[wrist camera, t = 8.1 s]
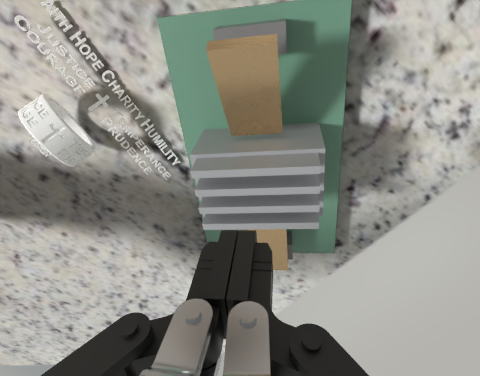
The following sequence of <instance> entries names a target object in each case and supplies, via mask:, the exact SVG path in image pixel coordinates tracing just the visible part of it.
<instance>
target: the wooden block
mask: <svg viewBox="0 0 480 376" xmlns="http://www.w3.org/2000/svg"><path fill="white" fill-rule="evenodd" d="M206 52H207V55H208V58H209V62H210V65H211V69H212V72H213V75H214V79H215V82H216V86H217V89H218V92H219V96H220V99H221V102H222V106H223V109H224V113H225V116H226V119H227V123H228V126H229V129H230V133H231V136H243V135H261V134H278V133H283V132H282V110H281V91H280V73H279V55H278V37H277V34H269V35H260V36H251V37H242V38H232V39H223V40H214V41H207V49H206Z"/></svg>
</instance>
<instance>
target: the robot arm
mask: <svg viewBox="0 0 480 376" xmlns="http://www.w3.org/2000/svg"><path fill="white" fill-rule="evenodd" d="M272 292H273V256H272V250H271V248H270V246H269V244H268V243H257V233H256V230H221V233H220V237H219V240H218V242H208V244H207V245H206V246H205V247H204V248H203V249H202V251H201V255H200V258H199V261H198V264H197V269H196V271H195V274H194V277H193V280H192V284H191V287H190V290H189V293H188V296H187V299H186V301H185V302H183V303H182V304H181V305H180V306H179V307H178V308H177V309H176V311H175V313H173V314H171V315H169V316H166V317H162V318H158V319H154V320H149V318H148V317H147V316H146V315H144V314H142V313H130V314H127V315H125V316H123V317H121V318H120V319H119V320H117V321H116V322H114V323H113V324H112V325H110V326H109V327H107V328H106V329H105V330H103V331H102V332H101V333H99V334H98V335H96V336H95V337H94V338H92V339H91V340H89V341H88V342H87V343H85V344H84V345H83V346H81V347H80V348H78V349H77V350H76V351H74V352H73V353H71V354H70V355H69V356H67V357H66V358H65V359H63V360H62V361H60V362H59V363H58V364H56V365H55V366H53V367H52V368H51V369H49V370H48V371H47V372H45V373H44V374H42V375H41V376H217V374H218V370H219V366H220V362H221V350H222V344H223V339H226V347H225V359H224V371H223V376H369V375H368V374H367V373H366V372H365V371H364V370H363V369H362V368H361V367H360V366H359V365H358V364H357V362H356V361H355V360H354V359H353V358H352V357H351V356H350V355H349V354H348V353H347V352H346V351H345V350H344V349H343V348H342V347H341V346H340V345H339V344H338V343H337V341H336V340H335V339H334V338H333V337H332V336H331V335H330V334H329V333H328V332H327V331H326V330H325V329H323V328H322V327H320V326H318V325H315V324H303V325H300V326H298V327H293V326H291V325H288V324H286V323H283V322H282V321H280V320H279V319H278V318H277V317H276V316H275V315H274V314H273V312H272Z"/></svg>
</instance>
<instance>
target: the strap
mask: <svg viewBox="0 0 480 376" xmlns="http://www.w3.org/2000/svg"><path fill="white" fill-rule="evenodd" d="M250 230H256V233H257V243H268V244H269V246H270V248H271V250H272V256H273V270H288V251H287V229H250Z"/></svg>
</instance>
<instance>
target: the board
mask: <svg viewBox="0 0 480 376" xmlns="http://www.w3.org/2000/svg"><path fill="white" fill-rule="evenodd" d="M351 5H352V0H294V1H286V2H278V3H270V4H262V5H254V6H246V7H238V8H230V9H222V10H214V11H206V12H197V13H189V14H181V15H173V16H165V17H160V18H157V20H158V24H159V29H160V33H161V38H162V42H163V47H164V51H165V56H166V60H167V65H168V69H169V74H170V78H171V83H172V87H173V92H174V96H175V101H176V105H177V109H178V114H179V118H180V123H181V127H182V132H183V136H184V141H185V145H186V150H187V154H188V159H189V163H190V168H191V171H190V173H191V177H192V179H193V181H194V186H195V190H194V191H195V195H196V197H197V199H198V204H199V207H198V208H199V213H200V214H201V217H202V221H203V223H202V226H203V230H205V235H206V239H207V244H208V242H218V240H219V237H220V233H221V230H250V229H287V251H288V259H293V253H334V251H335V236H336V222H337V207H338V193H339V178H340V164H341V150H342V135H343V121H344V106H345V92H346V77H347V63H348V48H349V34H350V19H351ZM269 34H277V37H278V55H279V73H280V91H281V110H282V132H283V133H278V134H261V135H243V136H231V133H230V129H229V126H228V123H227V119H226V116H225V113H224V109H223V106H222V102H221V99H220V96H219V92H218V89H217V86H216V82H215V79H214V75H213V72H212V69H211V65H210V62H209V58H208V55H207V52H206V49H207V41H214V40H223V39H232V38H242V37H251V36H260V35H269Z"/></svg>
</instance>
